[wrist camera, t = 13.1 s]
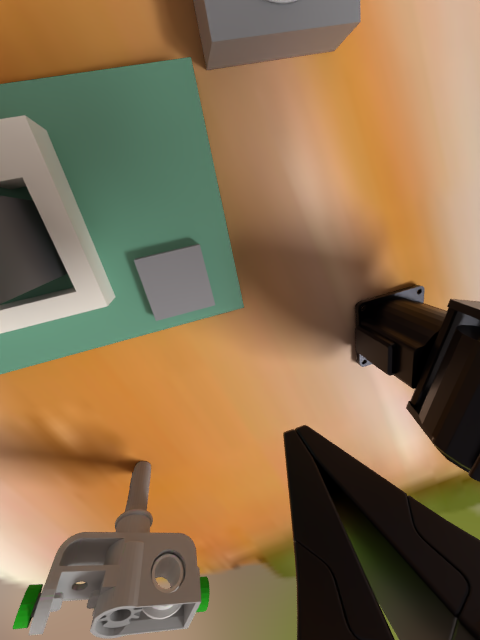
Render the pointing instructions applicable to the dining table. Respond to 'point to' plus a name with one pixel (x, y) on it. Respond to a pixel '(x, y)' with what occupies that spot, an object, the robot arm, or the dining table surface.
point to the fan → (271, 28)
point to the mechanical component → (123, 575)
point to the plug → (25, 249)
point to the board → (114, 208)
